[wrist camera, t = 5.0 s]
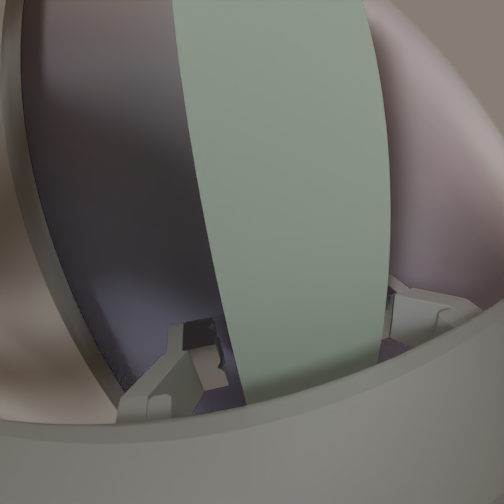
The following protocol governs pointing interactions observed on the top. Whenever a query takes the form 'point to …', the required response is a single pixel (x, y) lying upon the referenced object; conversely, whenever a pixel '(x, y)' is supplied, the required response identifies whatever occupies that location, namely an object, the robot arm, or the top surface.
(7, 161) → the rail posts
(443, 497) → the robot arm
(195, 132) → the rail
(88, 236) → the top surface
